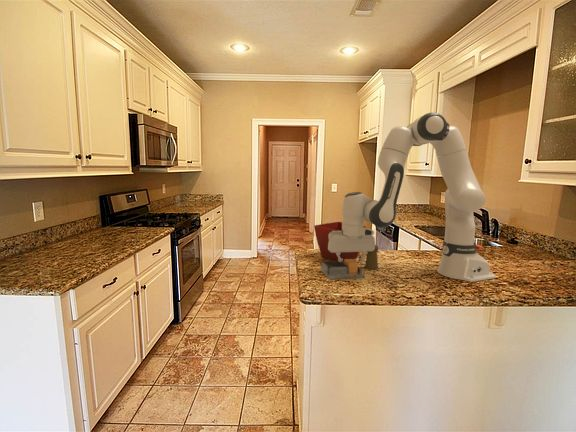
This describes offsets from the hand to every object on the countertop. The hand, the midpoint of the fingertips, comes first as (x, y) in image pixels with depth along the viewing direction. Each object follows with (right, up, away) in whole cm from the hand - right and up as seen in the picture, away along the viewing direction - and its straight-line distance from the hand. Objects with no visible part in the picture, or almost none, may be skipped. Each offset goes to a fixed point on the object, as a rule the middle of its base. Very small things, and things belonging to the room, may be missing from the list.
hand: (350, 261), depth 129 cm
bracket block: (0, -4, 0) cm, 4 cm away
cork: (+11, -4, +9) cm, 15 cm away
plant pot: (-1, -2, +24) cm, 24 cm away
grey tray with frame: (-4, -5, 0) cm, 7 cm away
